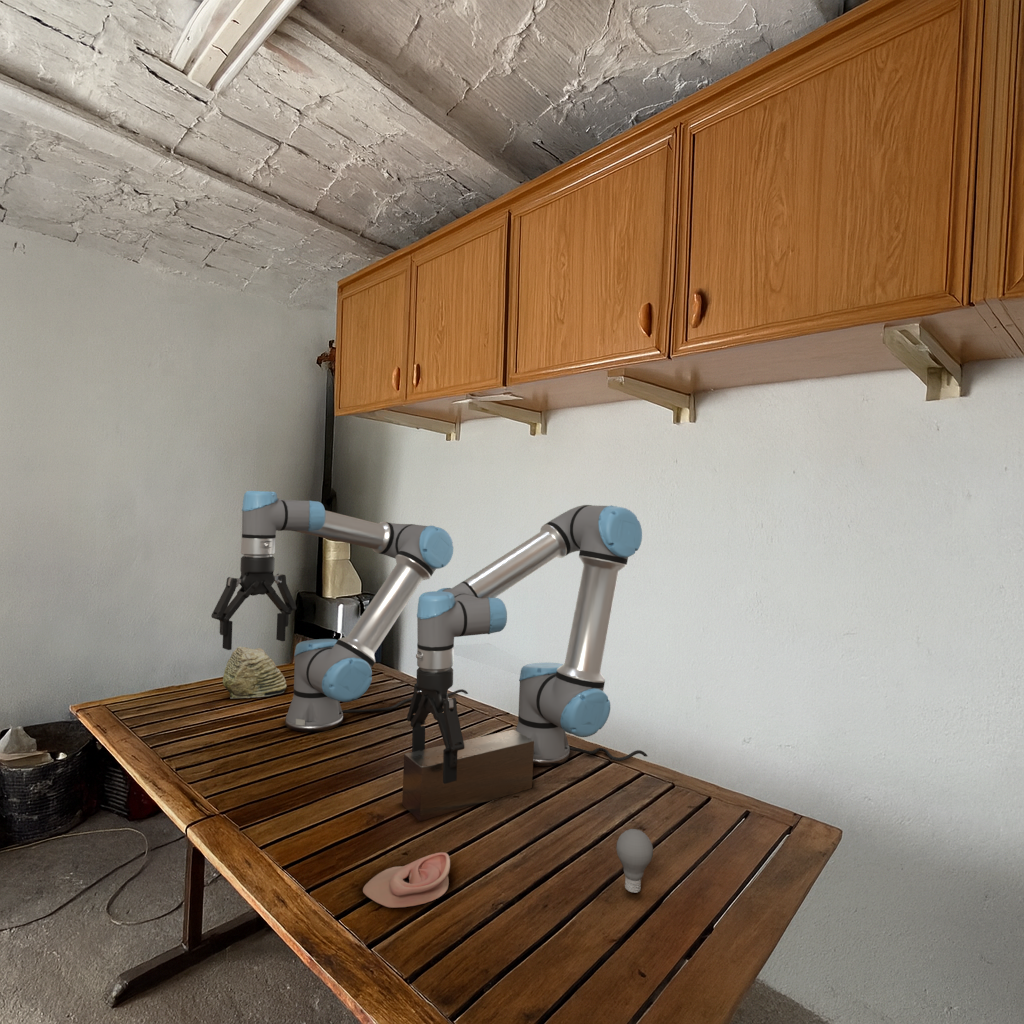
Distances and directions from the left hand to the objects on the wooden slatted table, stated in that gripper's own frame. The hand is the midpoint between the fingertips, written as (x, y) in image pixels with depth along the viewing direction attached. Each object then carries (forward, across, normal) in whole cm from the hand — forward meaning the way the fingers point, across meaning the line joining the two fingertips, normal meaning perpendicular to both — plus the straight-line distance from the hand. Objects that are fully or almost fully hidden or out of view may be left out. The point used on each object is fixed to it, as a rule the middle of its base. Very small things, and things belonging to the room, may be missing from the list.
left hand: (254, 644), depth 151 cm
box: (+27, +22, -51) cm, 62 cm away
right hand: (+19, +13, -48) cm, 54 cm away
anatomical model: (+27, -9, -65) cm, 71 cm away
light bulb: (+27, +16, -93) cm, 99 cm away
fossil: (+27, +25, +43) cm, 57 cm away
